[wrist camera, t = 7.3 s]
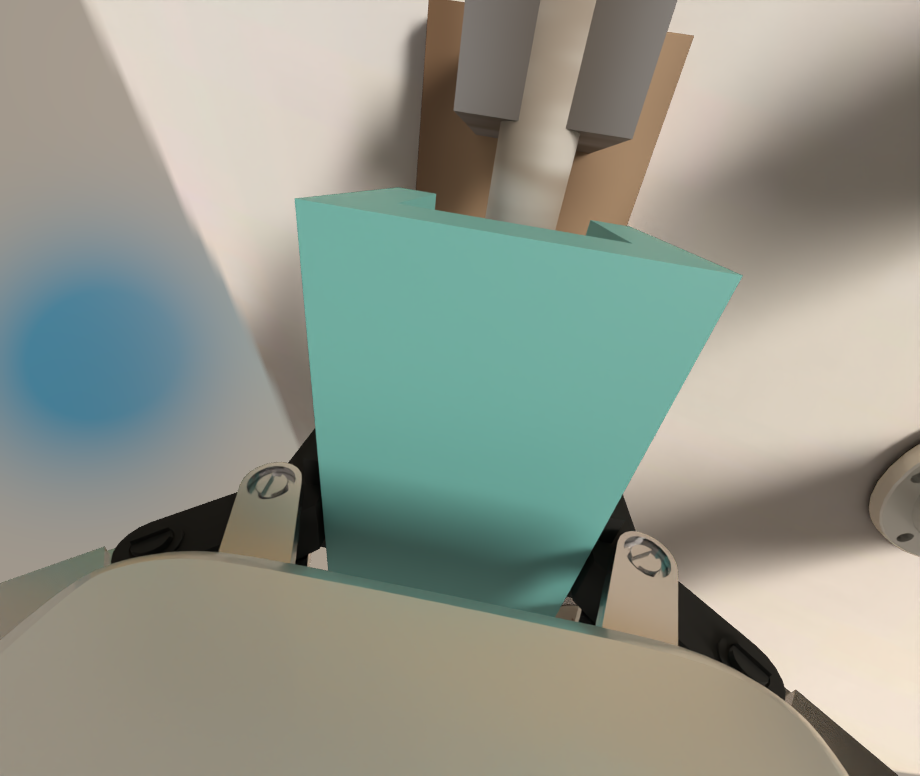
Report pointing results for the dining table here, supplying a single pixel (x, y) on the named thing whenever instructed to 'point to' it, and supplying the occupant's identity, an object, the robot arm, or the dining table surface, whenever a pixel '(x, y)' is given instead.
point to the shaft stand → (545, 107)
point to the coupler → (487, 386)
